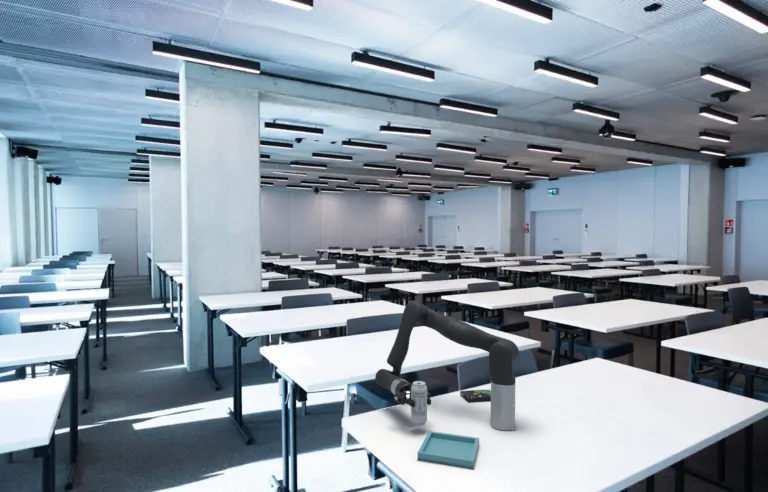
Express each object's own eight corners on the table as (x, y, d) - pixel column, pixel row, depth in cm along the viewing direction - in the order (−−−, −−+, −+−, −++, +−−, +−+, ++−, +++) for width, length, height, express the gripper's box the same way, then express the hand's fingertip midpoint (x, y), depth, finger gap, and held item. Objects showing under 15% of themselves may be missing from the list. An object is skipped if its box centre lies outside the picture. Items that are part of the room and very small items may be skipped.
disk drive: (468, 404, 200) (499, 402, 204) (468, 398, 200) (499, 395, 204) (459, 396, 211) (489, 394, 214) (459, 390, 211) (489, 388, 214)
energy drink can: (428, 420, 171) (428, 381, 171) (424, 426, 165) (425, 386, 165) (413, 418, 173) (413, 379, 172) (409, 424, 167) (409, 384, 167)
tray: (479, 445, 158) (479, 438, 158) (473, 469, 141) (473, 461, 141) (428, 437, 164) (429, 430, 164) (417, 460, 146) (417, 452, 146)
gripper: (386, 382, 179) (404, 395, 164) (418, 378, 185) (439, 391, 169) (386, 401, 179) (404, 416, 164) (418, 396, 185) (439, 411, 169)
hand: (422, 403), depth 167 cm, fingers closed on energy drink can, 6 cm apart
